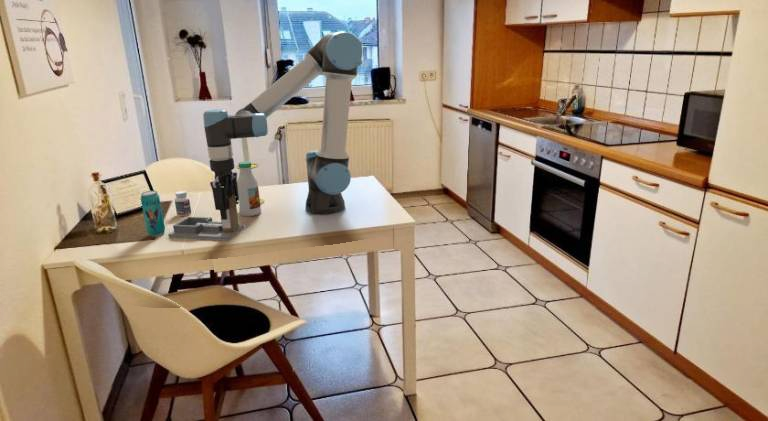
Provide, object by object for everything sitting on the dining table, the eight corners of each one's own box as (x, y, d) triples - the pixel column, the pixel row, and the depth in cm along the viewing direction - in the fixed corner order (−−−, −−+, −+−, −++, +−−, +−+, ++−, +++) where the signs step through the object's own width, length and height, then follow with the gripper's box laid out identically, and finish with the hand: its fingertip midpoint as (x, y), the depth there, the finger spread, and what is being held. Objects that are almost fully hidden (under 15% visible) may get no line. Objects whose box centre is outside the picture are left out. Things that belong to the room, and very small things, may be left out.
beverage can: (147, 238, 170) (139, 196, 166) (148, 233, 175) (139, 191, 171) (166, 235, 172) (158, 193, 168) (165, 230, 177) (158, 189, 173)
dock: (244, 227, 177) (243, 217, 176) (227, 240, 166) (226, 229, 165) (188, 225, 182) (187, 215, 181) (168, 237, 171) (166, 226, 170)
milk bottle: (243, 218, 187) (236, 166, 181) (238, 212, 194) (231, 161, 187) (263, 214, 191) (257, 163, 184) (258, 209, 197) (252, 159, 191)
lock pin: (239, 227, 173) (234, 194, 169) (233, 232, 169) (228, 198, 165) (200, 225, 176) (195, 193, 172) (193, 229, 172) (188, 196, 169)
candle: (268, 203, 204) (259, 123, 194) (244, 208, 199) (233, 126, 188) (259, 197, 212) (250, 120, 202) (236, 202, 207) (225, 123, 196)
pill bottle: (186, 216, 191) (182, 194, 188) (174, 216, 192) (170, 194, 189) (194, 212, 196) (190, 190, 193) (182, 211, 197) (178, 190, 194)
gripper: (224, 152, 172) (232, 216, 180) (196, 164, 156) (207, 233, 164) (244, 152, 171) (252, 217, 178) (218, 164, 155) (228, 234, 162)
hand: (230, 225), depth 171 cm, fingers closed on lock pin, 4 cm apart
